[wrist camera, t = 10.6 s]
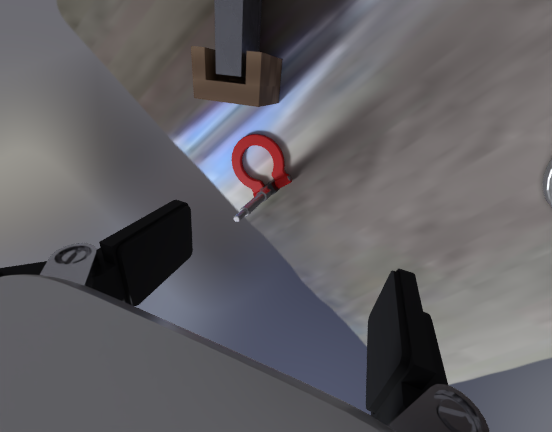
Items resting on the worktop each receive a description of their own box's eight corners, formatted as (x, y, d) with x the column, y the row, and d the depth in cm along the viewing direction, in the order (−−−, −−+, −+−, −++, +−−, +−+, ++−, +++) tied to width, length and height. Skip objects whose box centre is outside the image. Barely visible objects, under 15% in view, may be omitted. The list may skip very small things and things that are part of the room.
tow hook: (225, 151, 39) (256, 200, 41) (169, 171, 28) (215, 237, 30) (266, 122, 35) (298, 178, 37) (220, 132, 24) (269, 211, 26)
